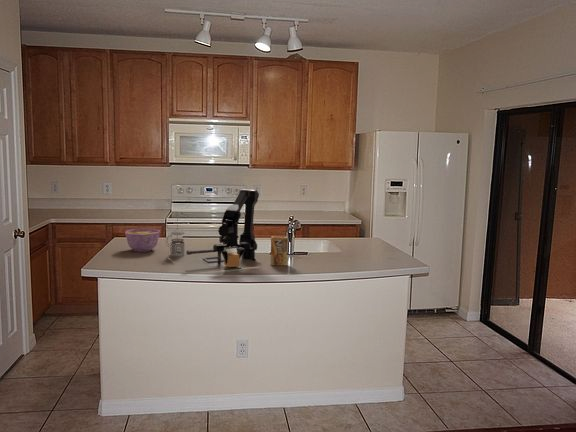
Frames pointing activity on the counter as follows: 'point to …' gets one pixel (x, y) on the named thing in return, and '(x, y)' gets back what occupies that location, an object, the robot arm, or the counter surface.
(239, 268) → the pad
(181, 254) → the french press
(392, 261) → the counter surface
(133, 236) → the bowl of food
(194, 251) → the black knob lever
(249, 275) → the counter surface
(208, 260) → the socket plate
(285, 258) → the candy box
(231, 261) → the orange cube
